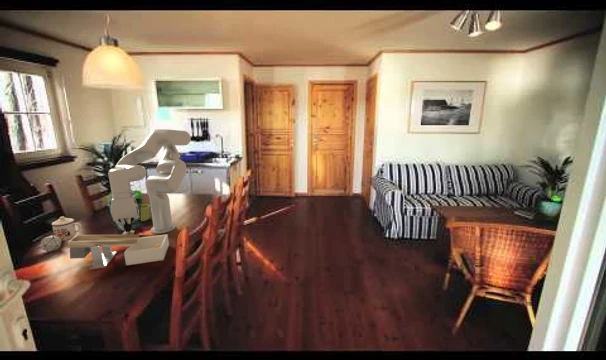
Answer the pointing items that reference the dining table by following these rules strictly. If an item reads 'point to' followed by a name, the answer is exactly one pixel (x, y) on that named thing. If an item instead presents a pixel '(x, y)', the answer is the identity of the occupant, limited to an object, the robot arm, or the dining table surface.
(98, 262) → the lever stand
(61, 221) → the teacup with lid
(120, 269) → the dining table surface
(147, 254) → the bin
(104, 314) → the dining table surface
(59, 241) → the game die
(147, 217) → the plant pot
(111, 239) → the lever
